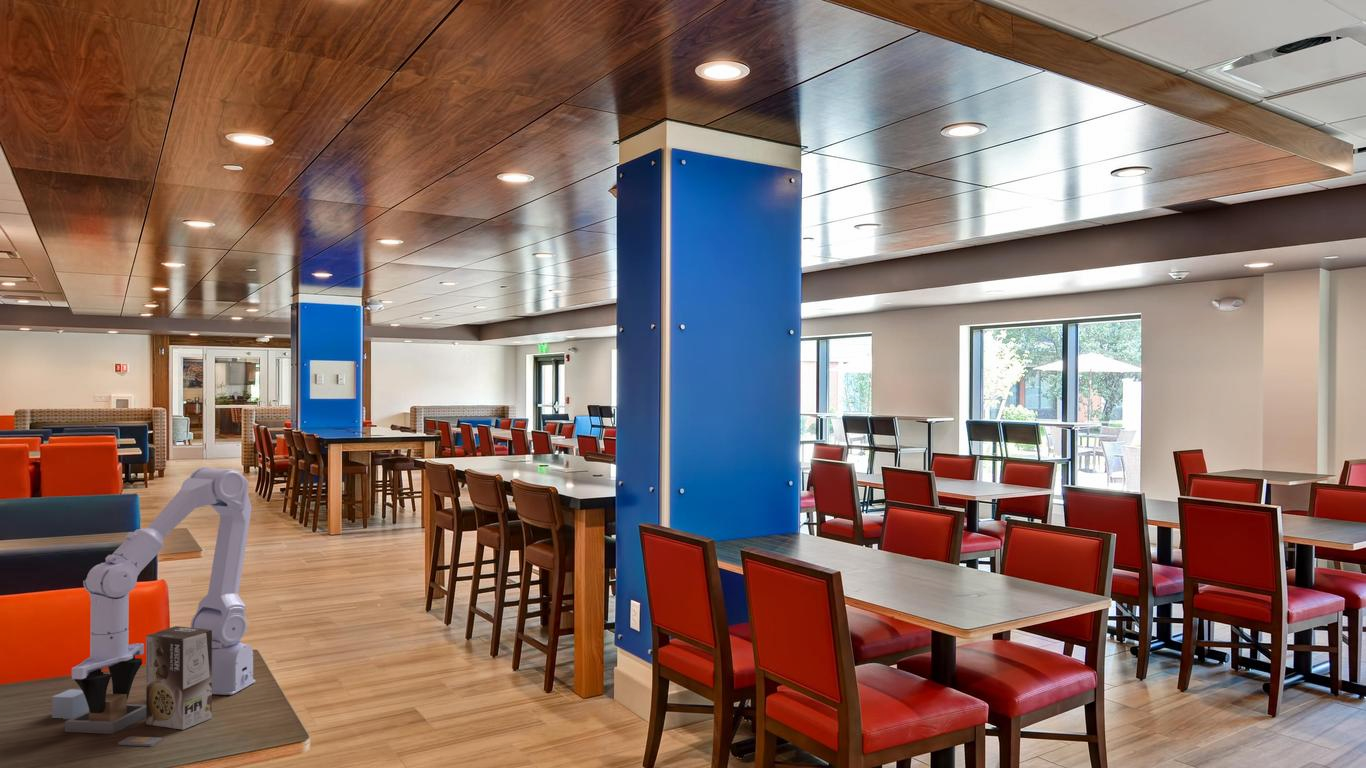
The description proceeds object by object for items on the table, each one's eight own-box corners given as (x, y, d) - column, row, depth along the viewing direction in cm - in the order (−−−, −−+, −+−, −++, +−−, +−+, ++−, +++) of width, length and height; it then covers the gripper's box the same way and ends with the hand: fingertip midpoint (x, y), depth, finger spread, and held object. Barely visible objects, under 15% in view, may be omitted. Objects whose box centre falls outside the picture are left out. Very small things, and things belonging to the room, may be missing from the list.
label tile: (162, 740, 145) (162, 737, 145) (151, 746, 143) (151, 743, 143) (129, 738, 146) (129, 735, 146) (118, 744, 143) (118, 741, 143)
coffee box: (213, 718, 155) (214, 629, 155) (182, 731, 149) (183, 638, 149) (176, 711, 158) (176, 624, 158) (143, 724, 152) (144, 633, 152)
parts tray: (150, 714, 157) (150, 704, 157) (112, 733, 148) (113, 723, 148) (104, 712, 158) (105, 703, 158) (65, 731, 149) (65, 721, 149)
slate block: (89, 711, 159) (89, 689, 159) (72, 719, 155) (72, 697, 155) (69, 710, 159) (69, 689, 159) (51, 718, 155) (52, 696, 155)
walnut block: (105, 715, 155) (106, 693, 155) (126, 716, 155) (126, 694, 155) (88, 723, 151) (89, 701, 151) (110, 724, 151) (110, 701, 151)
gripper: (98, 642, 145) (98, 722, 145) (159, 620, 160) (158, 693, 160) (60, 641, 146) (59, 721, 146) (124, 619, 161) (123, 691, 160)
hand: (108, 706), depth 153 cm, fingers open, 5 cm apart
